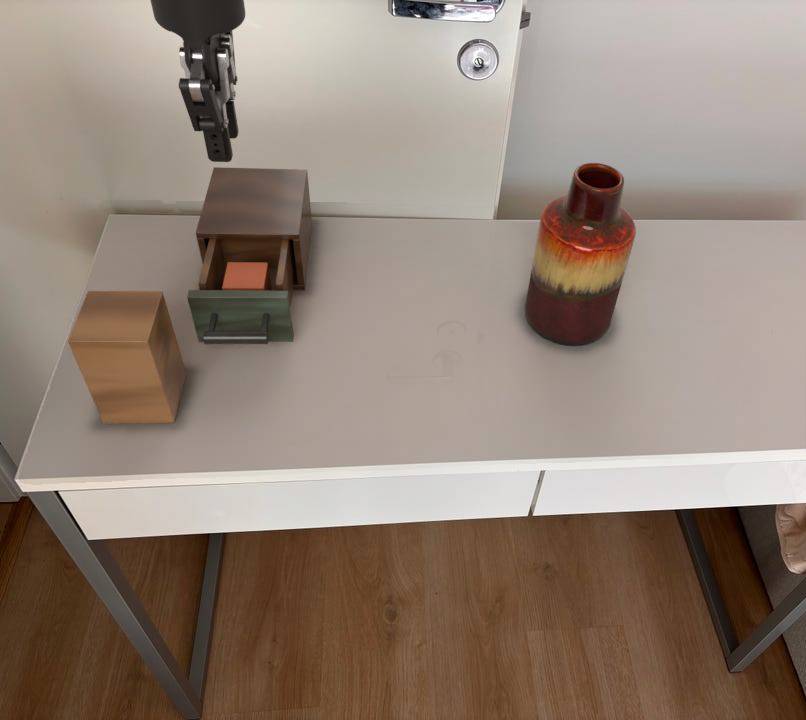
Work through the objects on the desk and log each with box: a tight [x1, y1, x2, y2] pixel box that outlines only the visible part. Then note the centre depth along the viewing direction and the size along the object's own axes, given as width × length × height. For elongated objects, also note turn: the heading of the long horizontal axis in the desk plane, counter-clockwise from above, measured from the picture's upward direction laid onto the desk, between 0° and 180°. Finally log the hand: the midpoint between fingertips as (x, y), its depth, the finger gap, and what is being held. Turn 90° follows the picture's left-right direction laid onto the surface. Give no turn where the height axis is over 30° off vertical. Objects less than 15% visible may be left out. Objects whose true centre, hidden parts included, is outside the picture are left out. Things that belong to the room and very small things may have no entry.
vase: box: [524, 162, 637, 347], centre depth 87 cm, size 11×11×20 cm
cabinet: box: [195, 166, 313, 291], centre depth 95 cm, size 14×12×9 cm
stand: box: [67, 290, 187, 425], centre depth 76 cm, size 7×7×12 cm
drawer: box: [186, 238, 295, 345], centre depth 86 cm, size 17×10×7 cm, turn 5°
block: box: [222, 262, 272, 291], centre depth 87 cm, size 4×4×4 cm
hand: (224, 147), depth 74 cm, fingers open, 3 cm apart
